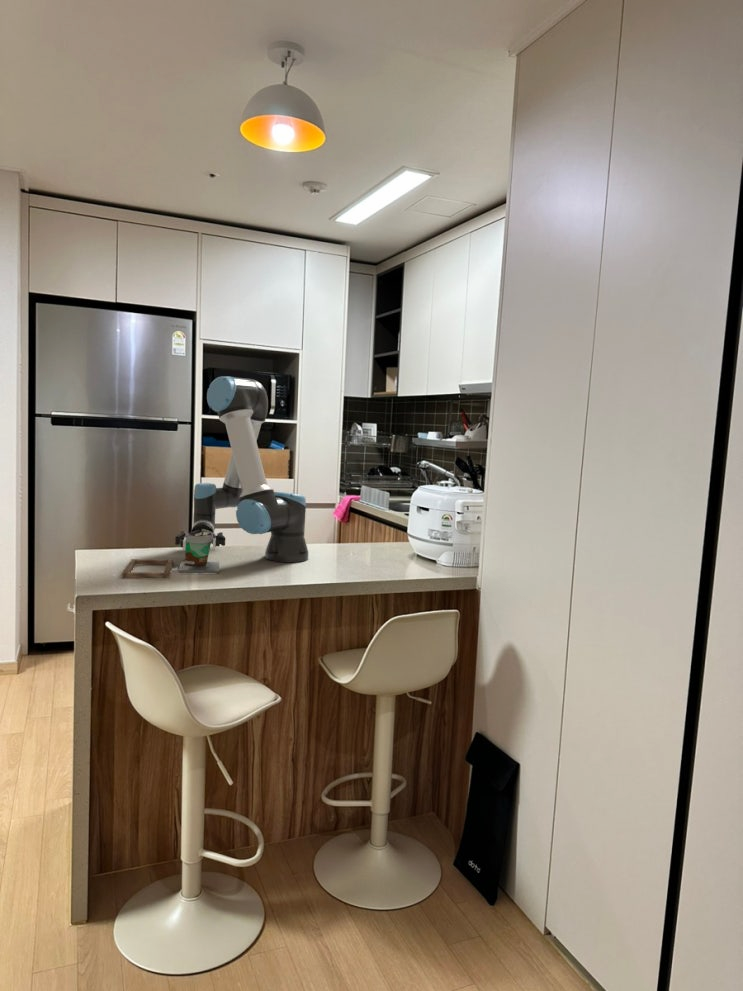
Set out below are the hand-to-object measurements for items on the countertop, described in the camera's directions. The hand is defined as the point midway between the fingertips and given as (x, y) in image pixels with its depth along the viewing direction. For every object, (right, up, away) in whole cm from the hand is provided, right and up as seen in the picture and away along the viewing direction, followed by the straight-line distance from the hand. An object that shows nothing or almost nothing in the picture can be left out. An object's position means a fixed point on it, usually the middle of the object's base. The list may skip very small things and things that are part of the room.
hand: (199, 546), depth 213 cm
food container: (-1, -6, +5) cm, 8 cm away
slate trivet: (-1, -8, +6) cm, 10 cm away
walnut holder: (-16, -8, 0) cm, 17 cm away
